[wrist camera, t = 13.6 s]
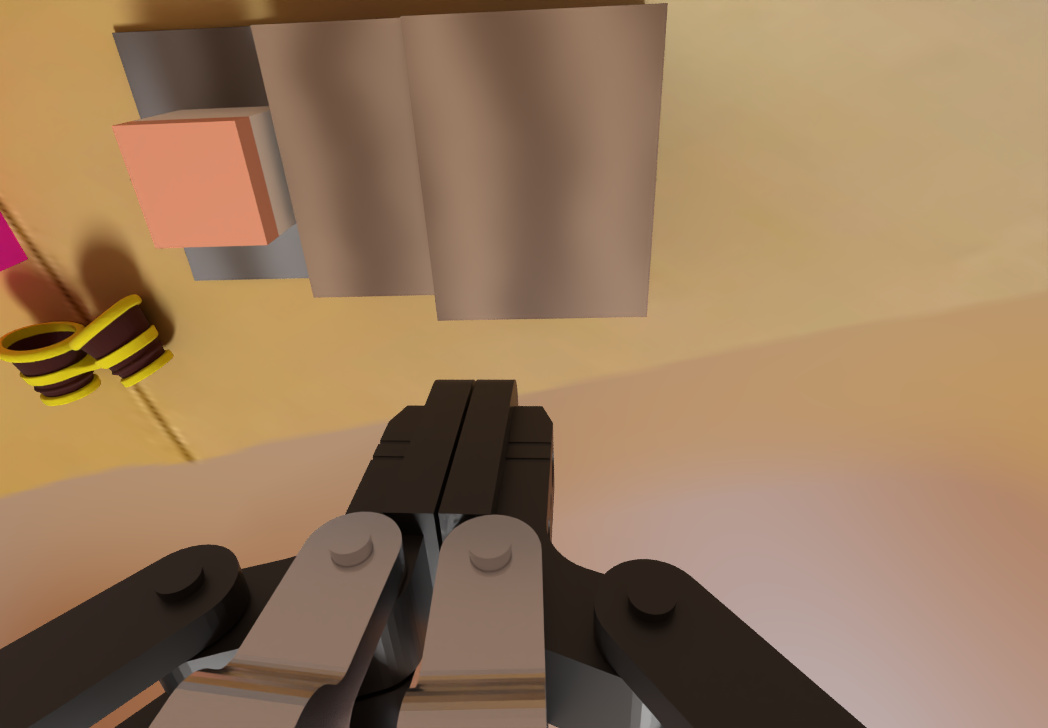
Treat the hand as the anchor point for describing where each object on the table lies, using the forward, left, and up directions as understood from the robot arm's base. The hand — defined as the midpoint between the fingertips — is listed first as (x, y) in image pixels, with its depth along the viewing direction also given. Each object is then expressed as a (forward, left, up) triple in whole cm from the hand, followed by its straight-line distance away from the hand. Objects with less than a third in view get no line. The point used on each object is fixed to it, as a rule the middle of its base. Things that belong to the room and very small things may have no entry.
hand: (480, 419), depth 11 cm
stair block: (+8, 0, -26) cm, 27 cm away
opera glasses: (+29, +11, -27) cm, 41 cm away
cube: (+16, 0, -20) cm, 26 cm away
